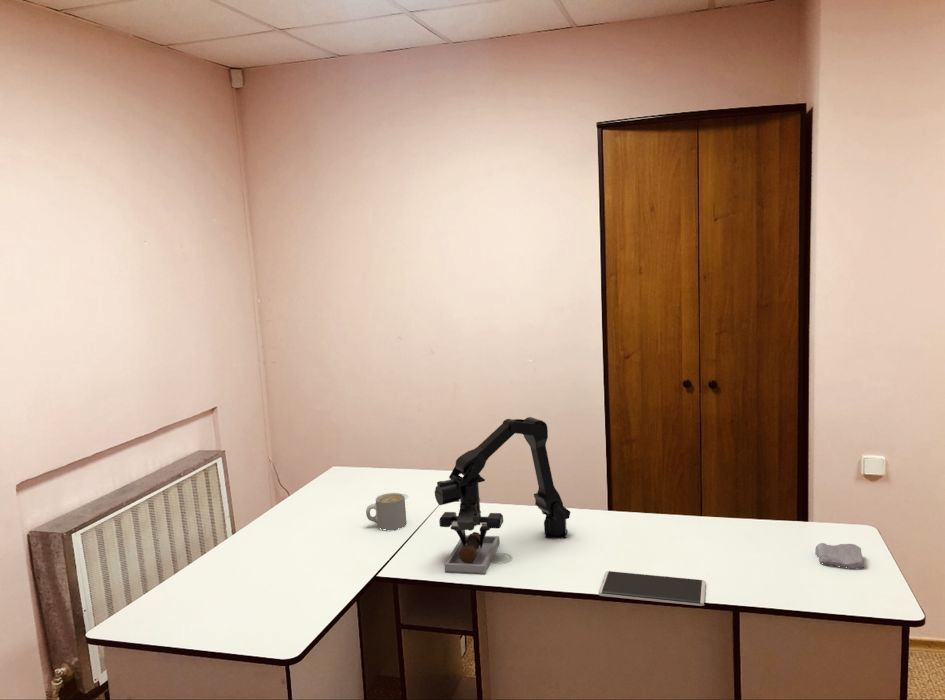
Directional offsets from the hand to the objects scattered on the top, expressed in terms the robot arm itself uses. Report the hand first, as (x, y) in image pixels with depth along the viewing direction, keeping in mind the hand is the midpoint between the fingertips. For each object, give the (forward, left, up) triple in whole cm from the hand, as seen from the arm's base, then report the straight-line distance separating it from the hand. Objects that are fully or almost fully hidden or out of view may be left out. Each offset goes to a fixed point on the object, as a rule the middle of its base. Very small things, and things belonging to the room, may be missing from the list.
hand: (473, 546), depth 226 cm
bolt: (0, +1, -2) cm, 2 cm away
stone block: (-104, -7, -4) cm, 105 cm away
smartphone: (-53, +15, -4) cm, 55 cm away
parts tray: (0, 0, -3) cm, 3 cm away
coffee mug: (+36, -23, -4) cm, 43 cm away
